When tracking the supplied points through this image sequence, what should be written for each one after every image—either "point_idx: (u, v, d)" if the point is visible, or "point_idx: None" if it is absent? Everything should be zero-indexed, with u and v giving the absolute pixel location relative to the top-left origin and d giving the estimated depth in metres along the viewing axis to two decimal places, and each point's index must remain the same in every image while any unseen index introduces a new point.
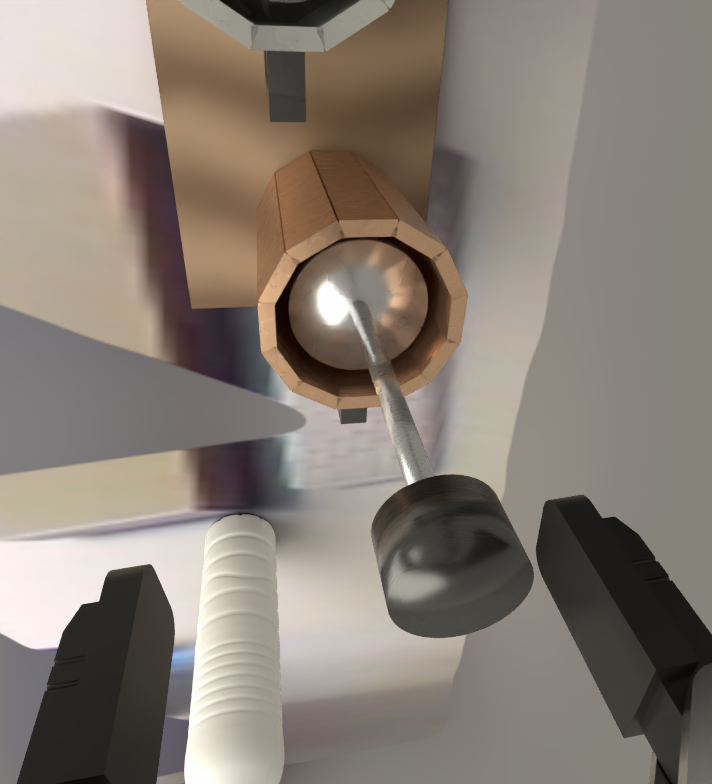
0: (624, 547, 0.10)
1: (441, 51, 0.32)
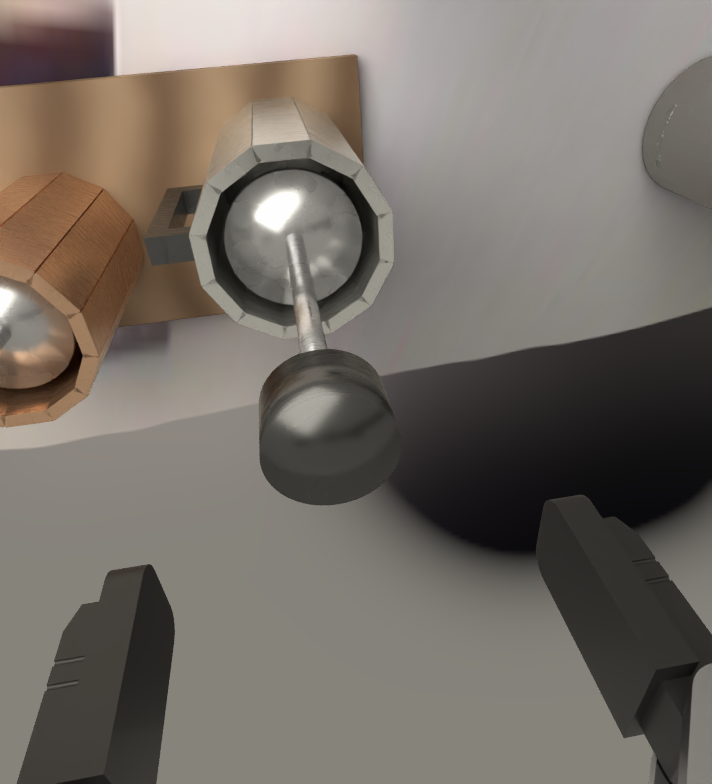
0: (624, 547, 0.10)
1: None
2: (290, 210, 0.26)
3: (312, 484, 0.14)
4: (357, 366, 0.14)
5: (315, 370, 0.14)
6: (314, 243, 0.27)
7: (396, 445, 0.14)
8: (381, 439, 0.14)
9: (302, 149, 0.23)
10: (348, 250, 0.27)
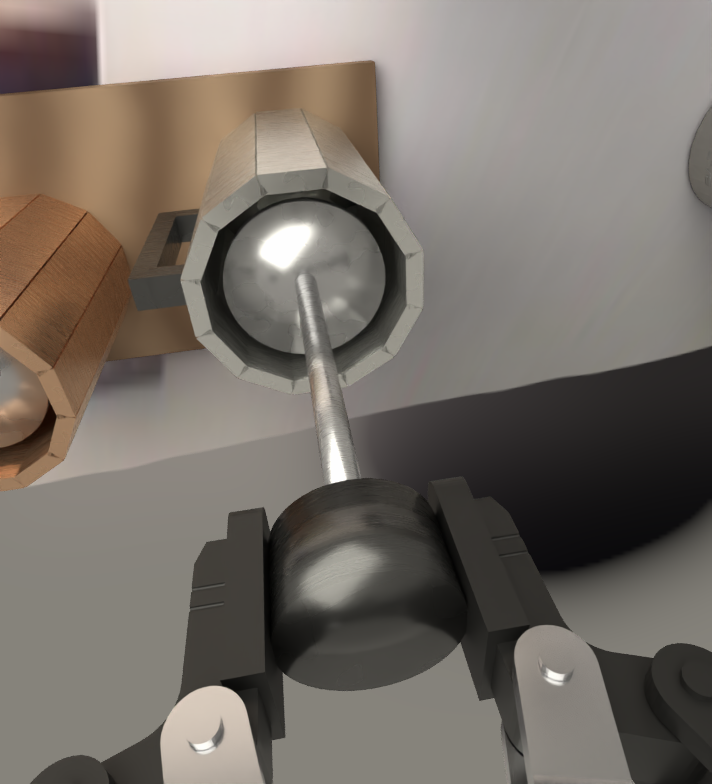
0: (493, 524, 0.11)
1: None
2: (301, 247, 0.22)
3: (342, 670, 0.10)
4: (405, 505, 0.10)
5: (349, 519, 0.10)
6: (329, 285, 0.23)
7: (461, 621, 0.10)
8: (441, 616, 0.10)
9: (317, 179, 0.19)
10: (368, 292, 0.23)
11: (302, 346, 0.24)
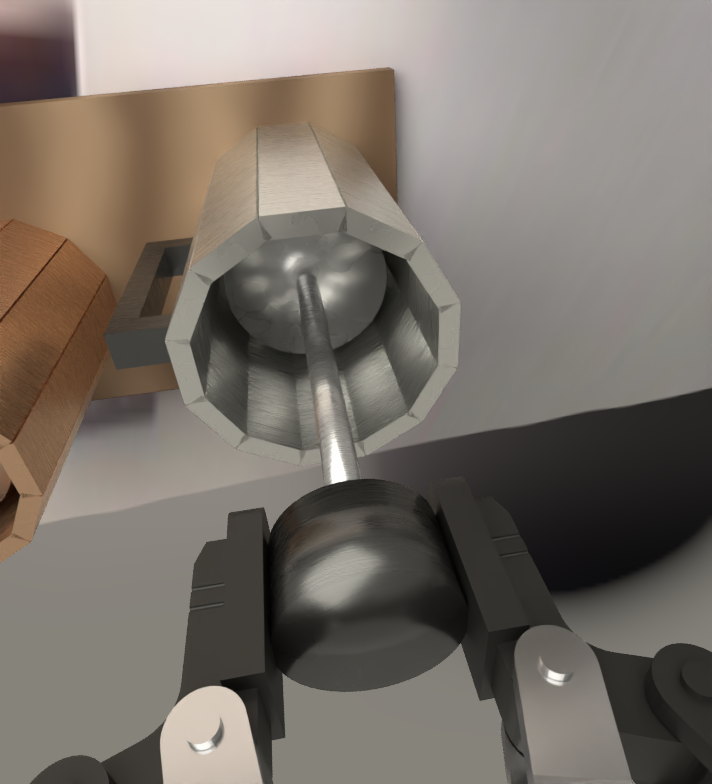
0: (493, 524, 0.11)
1: None
2: (303, 247, 0.22)
3: (342, 671, 0.10)
4: (405, 506, 0.10)
5: (349, 519, 0.10)
6: (330, 285, 0.23)
7: (462, 623, 0.10)
8: (442, 617, 0.10)
9: (334, 220, 0.16)
10: (370, 292, 0.23)
11: (303, 346, 0.24)
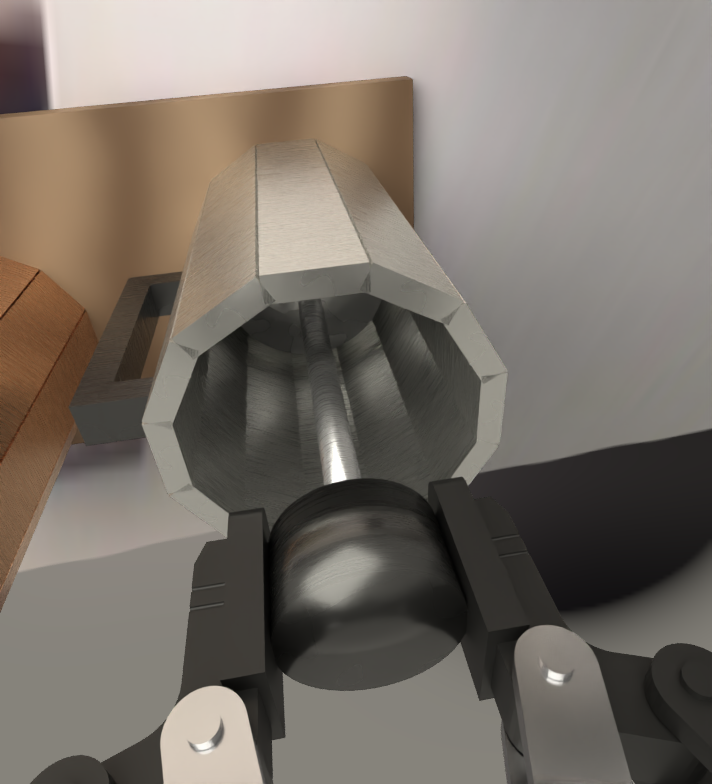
0: (493, 524, 0.11)
1: None
2: None
3: (342, 670, 0.10)
4: (405, 505, 0.10)
5: (349, 518, 0.10)
6: None
7: (461, 621, 0.10)
8: (442, 616, 0.10)
9: (355, 279, 0.12)
10: None
11: (302, 346, 0.24)
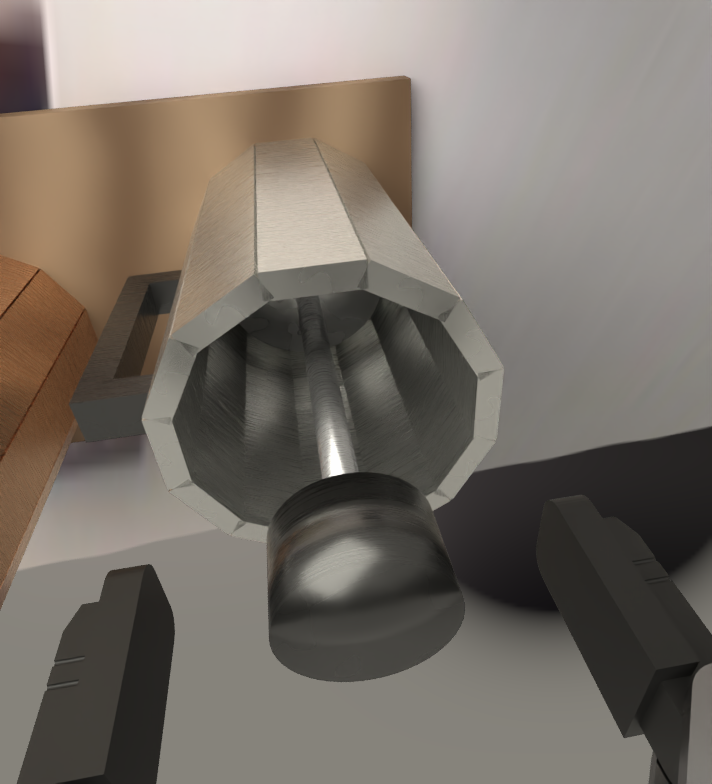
0: (624, 547, 0.10)
1: None
2: None
3: (339, 661, 0.11)
4: (402, 498, 0.11)
5: (346, 511, 0.10)
6: None
7: (457, 613, 0.10)
8: (438, 607, 0.10)
9: (352, 276, 0.12)
10: (367, 291, 0.23)
11: (301, 344, 0.24)
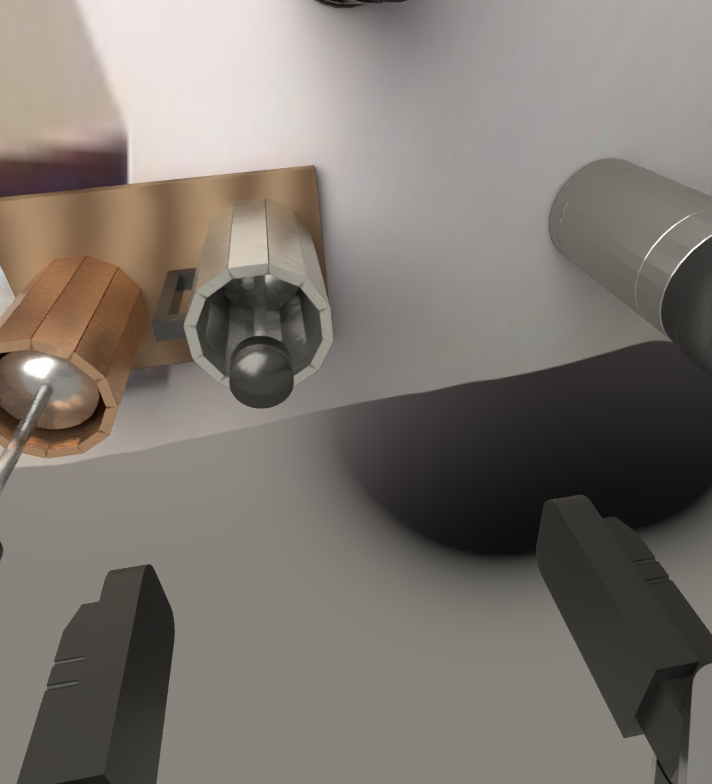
0: (624, 547, 0.10)
1: None
2: None
3: (253, 397, 0.32)
4: (274, 343, 0.32)
5: (254, 344, 0.31)
6: None
7: (291, 378, 0.31)
8: (284, 375, 0.31)
9: (263, 269, 0.33)
10: None
11: None
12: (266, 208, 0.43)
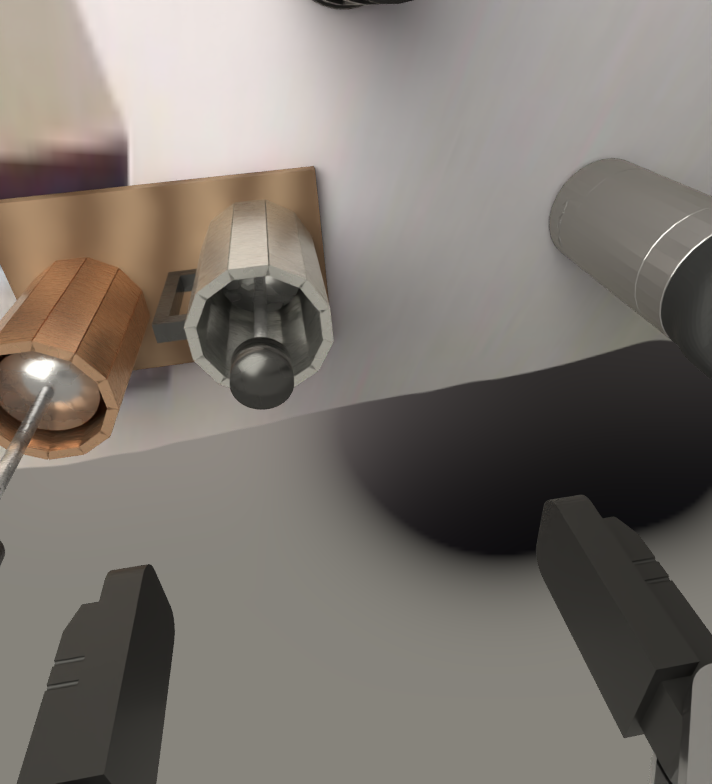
0: (624, 547, 0.10)
1: None
2: None
3: (254, 398, 0.32)
4: (275, 344, 0.32)
5: (254, 345, 0.31)
6: None
7: (291, 380, 0.31)
8: (284, 376, 0.31)
9: (263, 270, 0.34)
10: None
11: None
12: (266, 209, 0.43)
